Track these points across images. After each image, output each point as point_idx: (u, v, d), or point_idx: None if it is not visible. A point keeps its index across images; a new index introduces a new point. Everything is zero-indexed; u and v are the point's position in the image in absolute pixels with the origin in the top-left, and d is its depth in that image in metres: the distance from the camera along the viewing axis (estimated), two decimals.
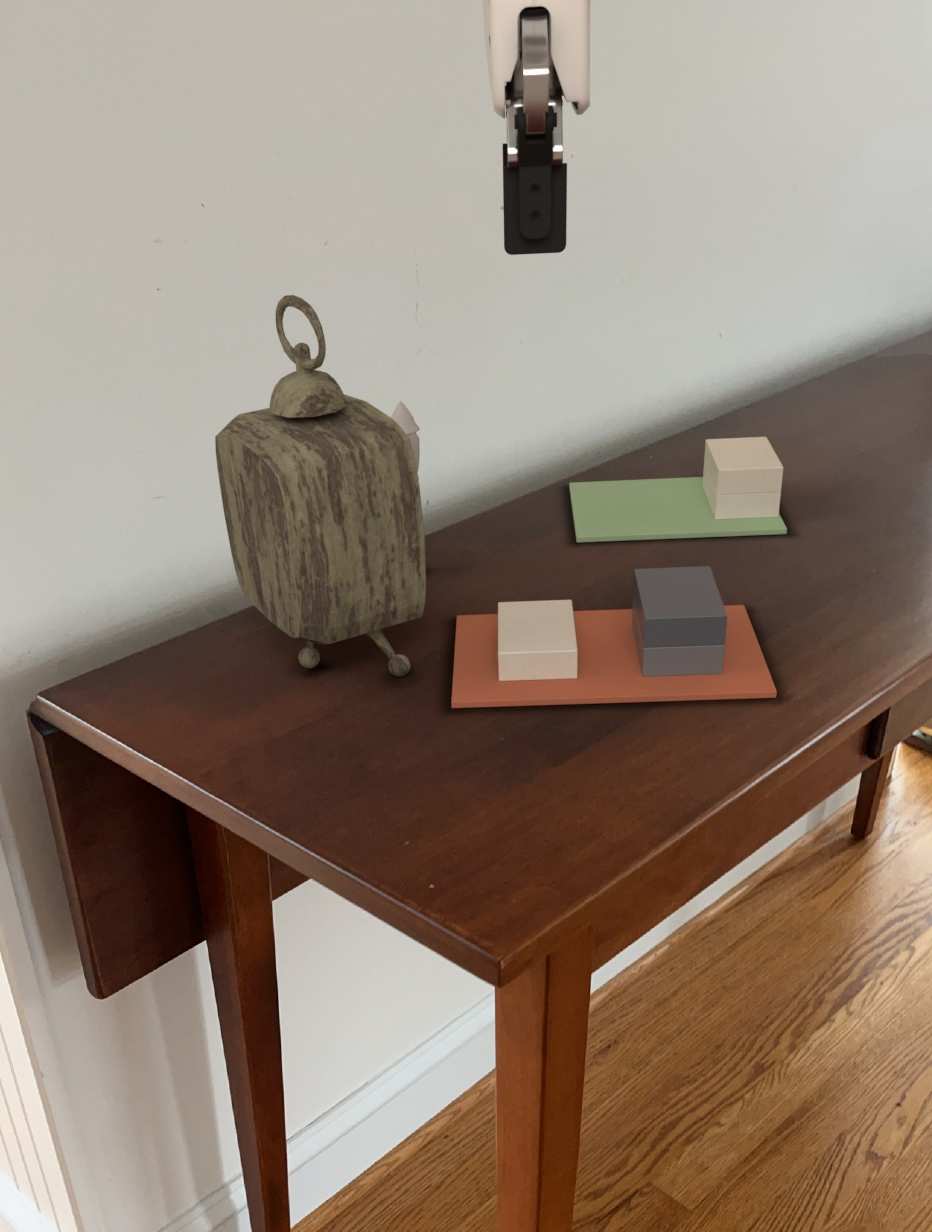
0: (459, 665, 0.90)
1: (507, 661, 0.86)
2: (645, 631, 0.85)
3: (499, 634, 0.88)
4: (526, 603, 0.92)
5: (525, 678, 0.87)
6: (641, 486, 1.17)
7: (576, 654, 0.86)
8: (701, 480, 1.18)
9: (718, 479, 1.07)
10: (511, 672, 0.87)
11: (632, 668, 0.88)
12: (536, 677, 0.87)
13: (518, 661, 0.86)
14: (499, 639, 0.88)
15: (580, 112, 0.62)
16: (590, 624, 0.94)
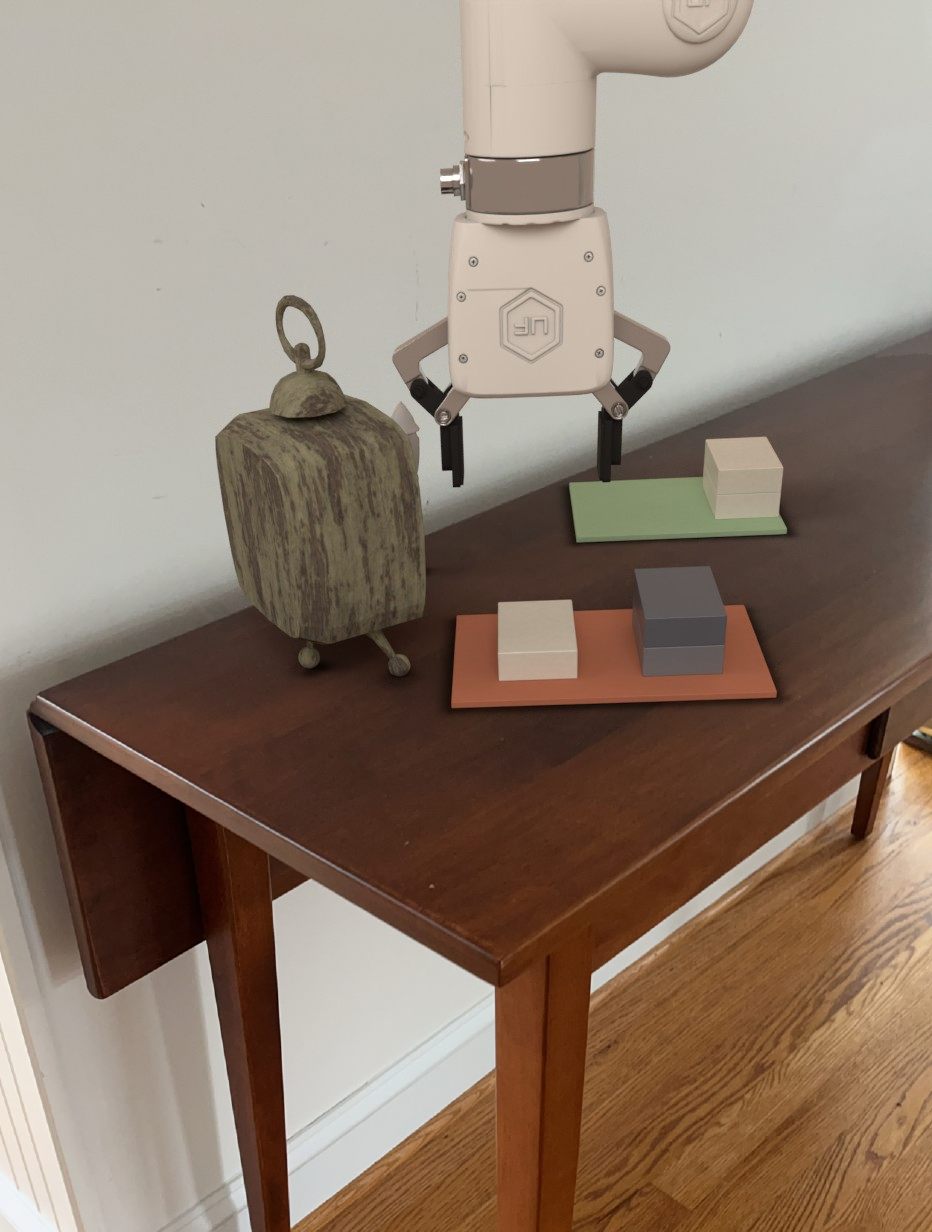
0: (459, 665, 0.90)
1: (507, 661, 0.86)
2: (645, 631, 0.85)
3: (499, 634, 0.88)
4: (526, 603, 0.92)
5: (525, 678, 0.87)
6: (641, 486, 1.17)
7: (576, 654, 0.86)
8: (701, 480, 1.18)
9: (718, 479, 1.07)
10: (511, 672, 0.87)
11: (632, 668, 0.88)
12: (536, 677, 0.87)
13: (518, 661, 0.86)
14: (499, 639, 0.88)
15: (465, 395, 0.78)
16: (590, 624, 0.94)
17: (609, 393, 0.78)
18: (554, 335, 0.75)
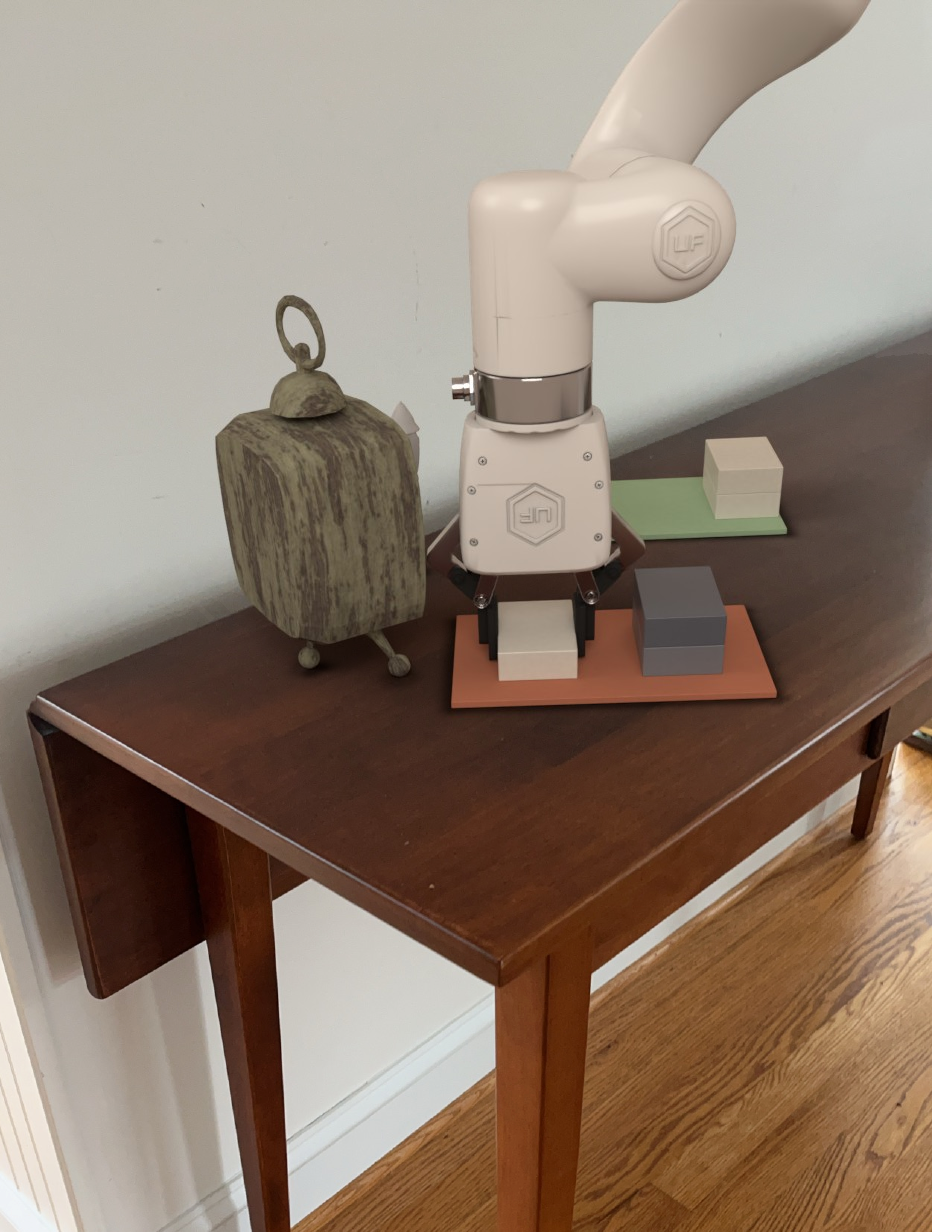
0: (459, 665, 0.90)
1: (507, 661, 0.86)
2: (645, 631, 0.85)
3: (499, 634, 0.88)
4: (526, 603, 0.92)
5: (525, 678, 0.87)
6: (641, 486, 1.17)
7: (576, 654, 0.86)
8: (701, 480, 1.18)
9: (718, 479, 1.07)
10: (511, 672, 0.87)
11: (632, 668, 0.88)
12: (536, 677, 0.87)
13: (518, 661, 0.86)
14: (499, 639, 0.88)
15: (475, 572, 0.85)
16: None
17: (588, 580, 0.86)
18: (557, 522, 0.82)
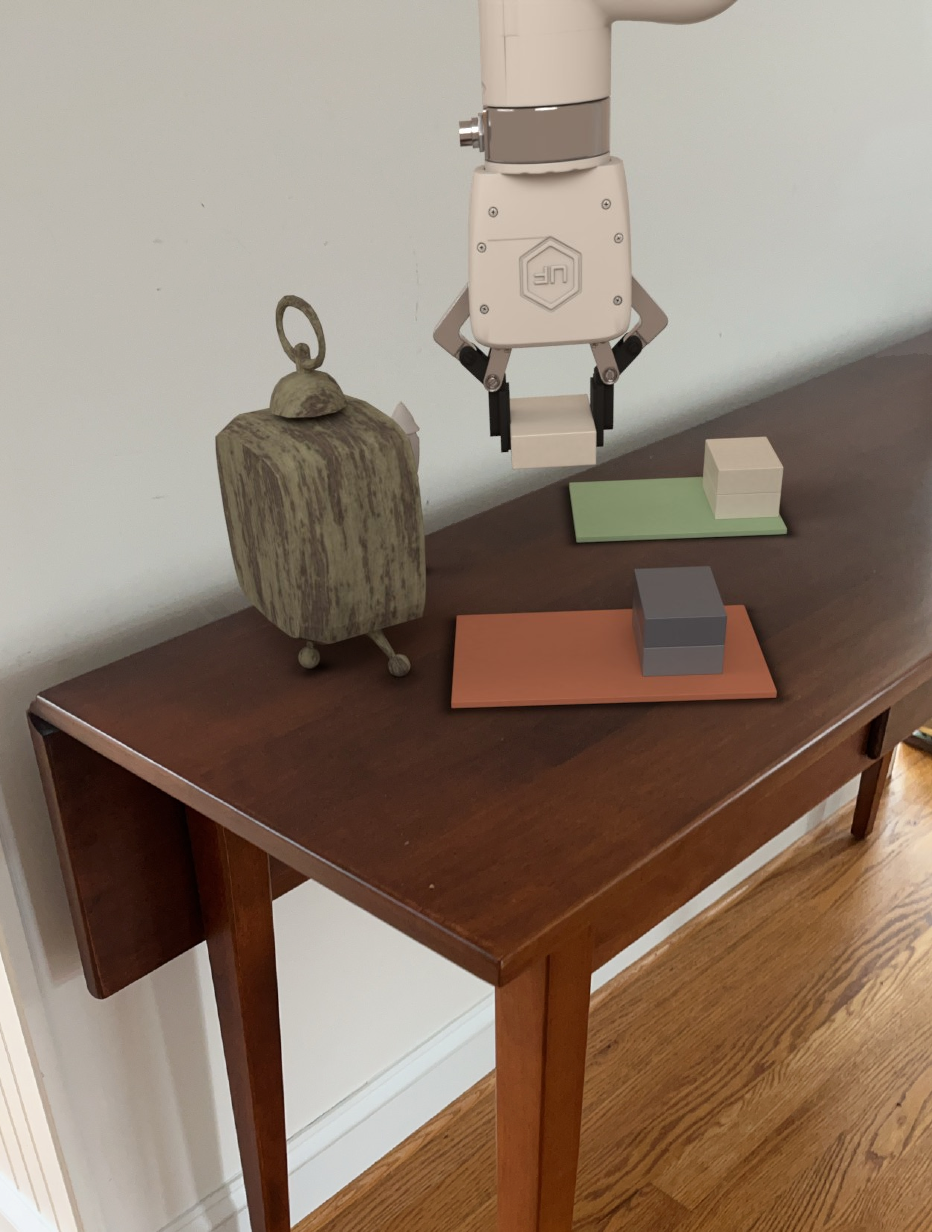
0: (459, 665, 0.90)
1: (521, 445, 0.81)
2: (645, 631, 0.85)
3: (511, 422, 0.83)
4: (539, 398, 0.87)
5: (540, 465, 0.81)
6: (641, 486, 1.17)
7: (595, 436, 0.80)
8: (701, 480, 1.18)
9: (718, 479, 1.07)
10: (525, 458, 0.81)
11: (632, 668, 0.88)
12: (552, 464, 0.81)
13: (533, 445, 0.81)
14: (512, 425, 0.82)
15: (486, 346, 0.79)
16: (590, 624, 0.94)
17: (606, 356, 0.80)
18: (573, 283, 0.76)
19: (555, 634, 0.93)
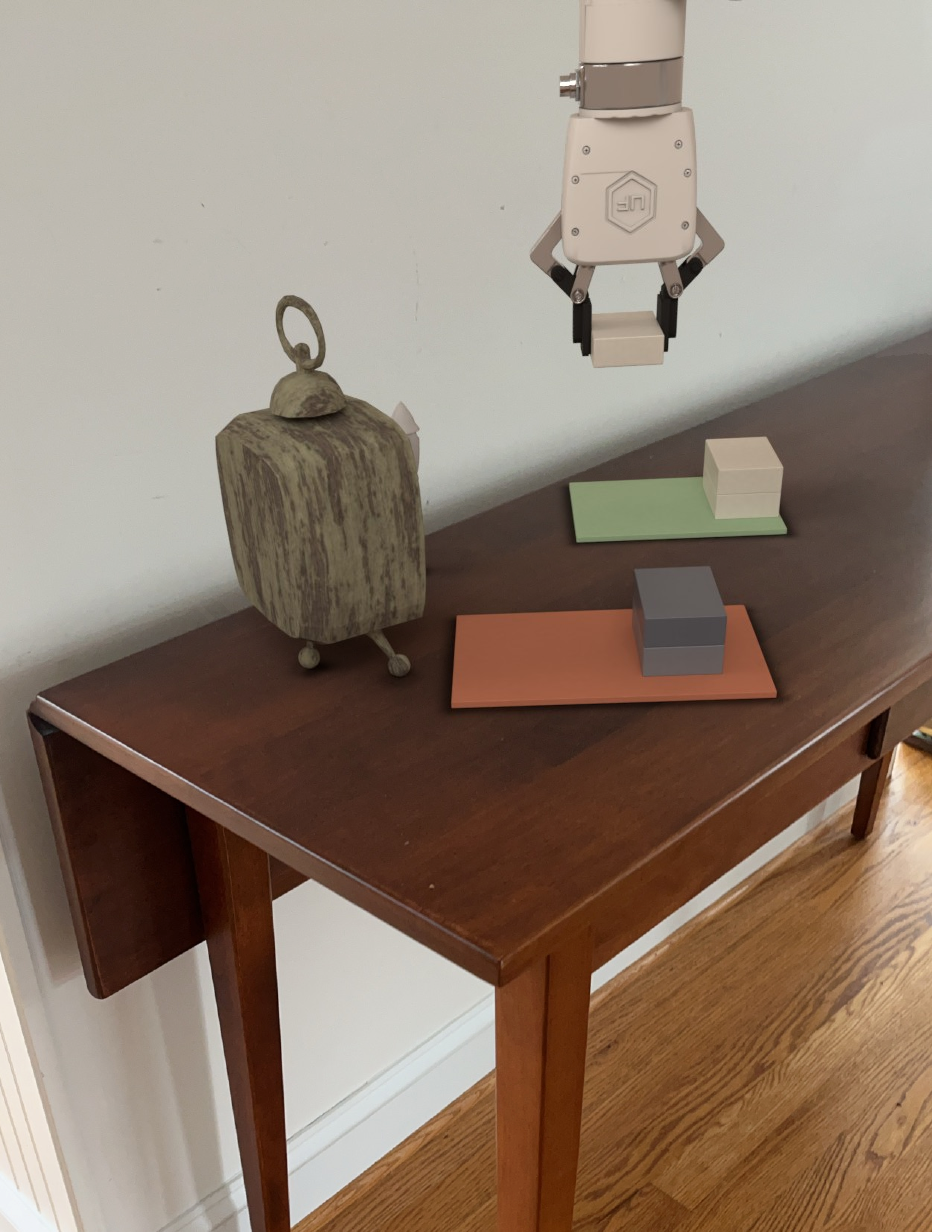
0: (459, 665, 0.90)
1: (601, 346, 0.98)
2: (645, 631, 0.85)
3: (592, 329, 1.00)
4: (612, 313, 1.04)
5: (617, 364, 0.98)
6: (641, 486, 1.17)
7: (663, 339, 0.97)
8: (701, 480, 1.18)
9: (718, 479, 1.07)
10: (605, 358, 0.98)
11: (632, 668, 0.88)
12: (627, 363, 0.98)
13: (612, 347, 0.98)
14: (593, 332, 0.99)
15: (575, 263, 0.96)
16: (590, 624, 0.94)
17: (673, 273, 0.97)
18: (649, 210, 0.93)
19: (555, 634, 0.93)
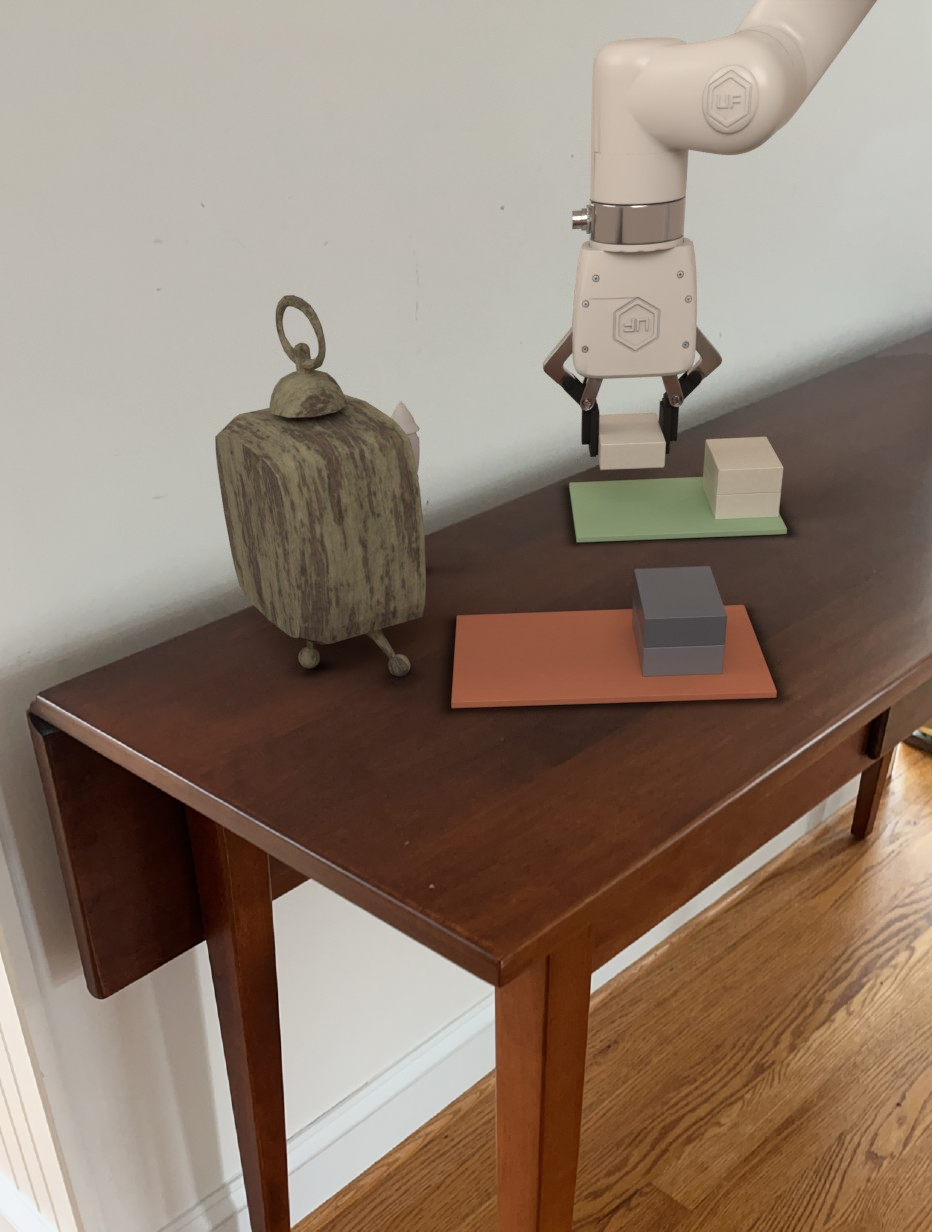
0: (459, 665, 0.90)
1: (608, 451, 1.06)
2: (645, 631, 0.85)
3: (600, 433, 1.08)
4: (618, 415, 1.12)
5: (622, 467, 1.07)
6: (641, 486, 1.17)
7: (664, 445, 1.06)
8: (701, 480, 1.18)
9: (718, 479, 1.07)
10: (611, 461, 1.07)
11: (632, 668, 0.88)
12: (631, 466, 1.07)
13: (617, 452, 1.06)
14: (600, 436, 1.08)
15: (584, 376, 1.05)
16: (590, 624, 0.94)
17: (674, 385, 1.06)
18: (653, 331, 1.02)
19: (555, 634, 0.93)
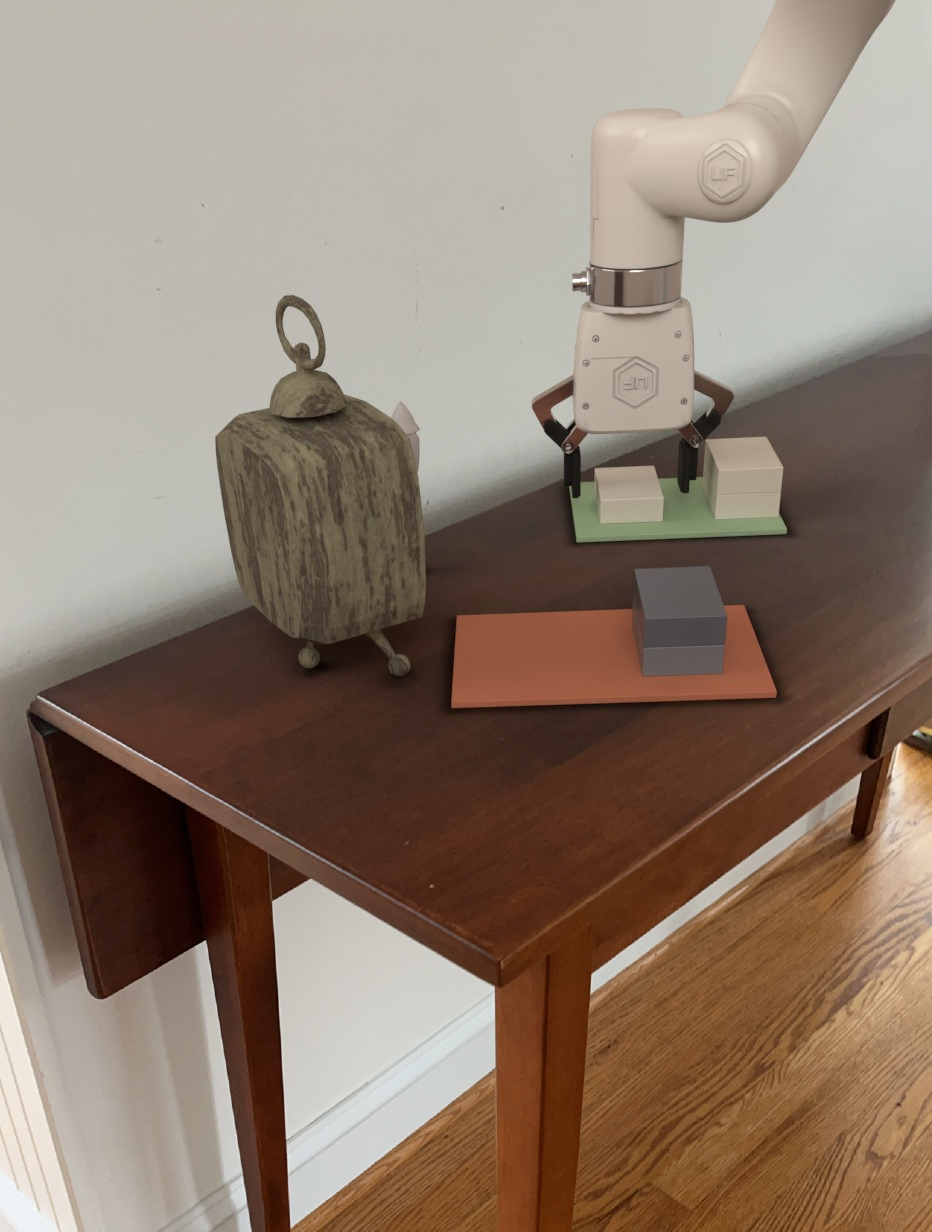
0: (459, 665, 0.90)
1: (608, 506, 1.09)
2: (645, 631, 0.85)
3: (599, 488, 1.11)
4: (617, 468, 1.15)
5: (621, 521, 1.10)
6: None
7: (662, 500, 1.09)
8: (701, 480, 1.18)
9: (718, 479, 1.07)
10: (610, 516, 1.10)
11: (632, 668, 0.88)
12: (630, 520, 1.10)
13: (616, 507, 1.09)
14: (600, 491, 1.11)
15: (585, 432, 1.07)
16: (590, 624, 0.94)
17: (689, 429, 1.08)
18: (652, 389, 1.05)
19: (555, 634, 0.93)
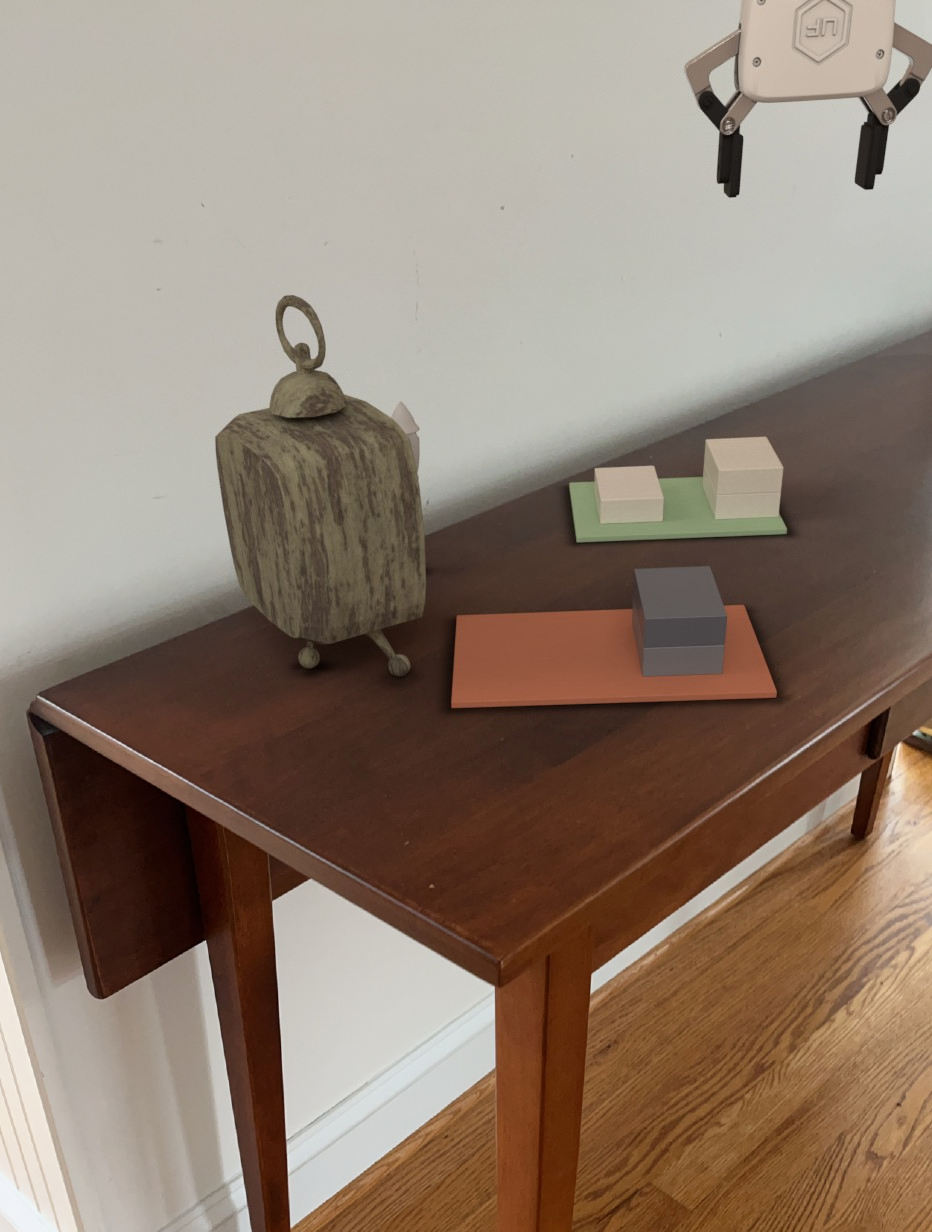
0: (459, 665, 0.90)
1: (608, 506, 1.09)
2: (645, 631, 0.85)
3: (599, 488, 1.11)
4: (617, 468, 1.15)
5: (621, 521, 1.10)
6: None
7: (662, 500, 1.09)
8: (701, 480, 1.18)
9: (718, 479, 1.07)
10: (610, 516, 1.10)
11: (632, 668, 0.88)
12: (630, 520, 1.10)
13: (616, 507, 1.09)
14: (600, 491, 1.11)
15: (753, 100, 0.87)
16: (590, 624, 0.94)
17: (881, 98, 0.87)
18: (841, 36, 0.84)
19: (555, 634, 0.93)
